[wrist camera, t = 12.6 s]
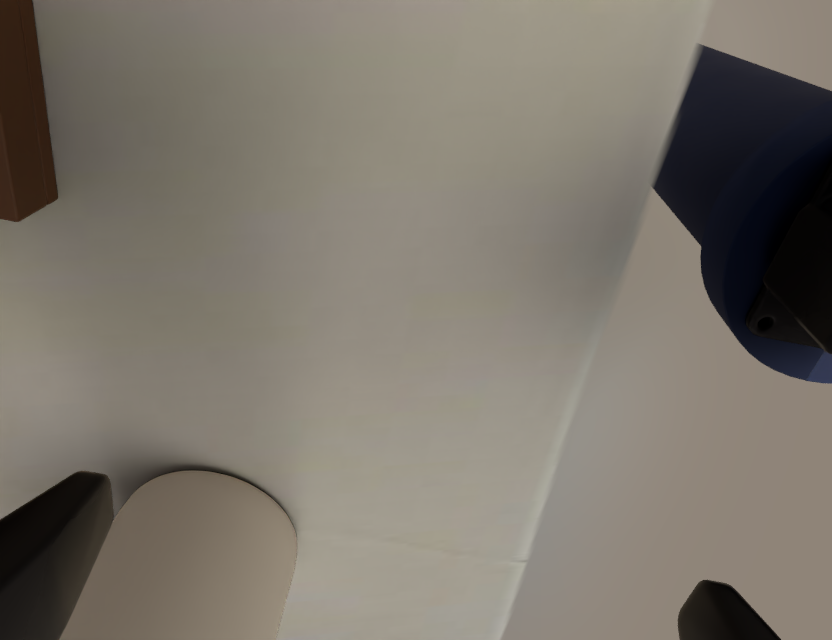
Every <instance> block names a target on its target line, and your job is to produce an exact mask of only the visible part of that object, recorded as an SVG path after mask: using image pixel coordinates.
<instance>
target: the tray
mask: <svg viewBox="0 0 832 640" xmlns="http://www.w3.org/2000/svg"><path fill="white" fill-rule="evenodd" d="M57 199H58V194H57V186H56V179H55V171H54V164H53V156H52V148H51V141H50V133H49V126H48V118H47V110H46V103H45V95H44V88H43V80H42V72H41V65H40V57H39V50H38V42H37V34H36V27H35V19H34V12H33V4H32V0H0V219H4V220H9V221H14V222H19V221H21V220H23V219H25V218H26V217H28V216H30V215H31V214H33V213H35V212H36V211H38V210H40V209H41V208H43V207H45V206H46V204H47V205H48V204H50V203H52V202H54V201H55V200H57Z"/></svg>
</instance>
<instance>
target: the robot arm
mask: <svg viewBox="0 0 832 640" xmlns="http://www.w3.org/2000/svg"><path fill="white" fill-rule="evenodd" d="M763 282H764V283H763V285H762V286H761V288H760V290H759V292H758V294H757V296H756V297H755V299H754V301H753V303H752V305H751V307H750V309H749V310H748V312H747V314H746V317H745V324H746V326H747V327H748V328H749V329H750V331H751V332H752V333H753V334H754V335H757V336H761V337H766V338H771V339H776V340H781V341H786V342H792V343H797V344H802V345H807V346H812V347H818V348H822V349H823V350H824V351H825V352H827V353H829V354H832V158H831V159H830V161H829V163H828V165H827V167H826V169H825V171H824V172H823V174H822V176H821V178H820V180H819V182H818V183H817V185H816V187H815V189H814V191H813V193H812V194H811V196H810V198H809V200H808V202H807V204H806V205H805V207H804V208H802V209H801V210H800V211H799V212H798V214H797V216H796V218H795V220H794V222H793V223H792V225H791V227H790V229H789V231H788V233H787V235H786V236H785V238H784V240H783V242H782V244H781V246H780V248H779V249H778V251H777V253H776V255H775V257H774V259H773V260H772V262H771V264H770V266H769V268H768V270H767V272H766V273H765V275H764V277H763ZM764 317H768V319H767V320H766V321H765V322H764V323H762V324H758V322H759V321H760V319H762V318H764ZM113 516H114V509H113V500H112V492H111V483H110V479H109V477H108V476H107V475H105V474H100V473H95V472H89V471H79V472H76V473H74V474H72V475H70V476H69V477H67V478H66V479H64V480H62V481H61V482H59V483H58V484H56V485H55V486H53V487H51V488H50V489H48V490H47V491H45V492H43V493H42V494H40V495H39V496H37V497H35V498H34V499H32V500H31V501H29V502H27V503H26V504H24V505H23V506H21V507H20V508H18V509H16V510H15V511H13V512H12V513H10V514H8V515H7V516H5V517H4V518H2V519H0V640H59V639H60V637H61V635H62V633H63V631H64V630H65V628H66V625H67V623H68V621H69V619H70V617H71V615H72V613H73V611H74V608H75V606H76V604H77V602H78V599H79V597H80V595H81V593H82V590H83V588H84V586H85V584H86V581H87V579H88V577H89V575H90V573H91V570H92V568H93V566H94V564H95V561H96V559H97V557H98V555H99V552H100V550H101V548H102V546H103V543H104V541H105V539H106V537H107V535H108V532H109V530H110V528H111V525H112V521H113ZM678 631H679V638H680V640H781V639H780V638H779V637H778V636H777V634H776V633H775V632H774V631H773V630H772V629H771V628H770V627H769V626H768V625H767V624H766V622H765V621H764V620H763V619H762V618H761V617H760V616H759V615H758V614H757V613H756V611H755V610H754V609H753V608H752V607H751V606H750V605H749V604H748V603H747V602H746V601H745V599H744V598H743V597H742V596H741V595H740V594H739V593H738V592H737V591H736V590H735V589H734V588H733V587H732V586H731V585H729V584H726V583H721V582H716V581H710V580H703V581H701V582H699V583H698V584H697V586H696V587H695V589H694V590H693V592H692V593H691V594H690V596H689V598H688V599H687V601H686V602H685V603H684V605H683V607H682V608H681V610H680V612H679V616H678Z"/></svg>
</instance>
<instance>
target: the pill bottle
mask: <svg viewBox="0 0 832 640" xmlns="http://www.w3.org/2000/svg"><path fill="white" fill-rule="evenodd" d="M296 557H297V538H296V534H295V530H294V528H293V525H292V523H291V521H290V519H289V517H288V516H287V514H286V513H285V512H284V510H283V509H282V508H281V507H280V506H279V505H278V504H277V503H276V502H275V501H274V500H273V499H272V498H271V497H269V496H268V495H267V494H265V493H264V492H262V491H261V490H259V489H258V488H256V487H254V486H252V485H250V484H248V483H246V482H244V481H242V480H239V479H237V478H234V477H231V476H227V475H224V474H219V473H214V472H208V471H178V472H173V473H168V474H165V475H162V476H159V477H157V478H154V479H152V480H150V481H149V482H147V483H145V484H144V485H142V486H141V487H140V488H139V489H137V490H136V491H135V492H134V493H133V494H132V495H131V497H130V498H129V499H128V500H127V502H126V503H125V504H124V505H123V507H122V508H121V509H120V511H119V513H118V514H117V516H116V517H115V519H114V521H113V522H112V525H111V528H110V530H109V532H108V535H107V537H106V539H105V541H104V543H103V546H102V548H101V550H100V552H99V555H98V557H97V559H96V561H95V564H94V566H93V568H92V570H91V573H90V575H89V577H88V579H87V581H86V584H85V586H84V588H83V590H82V593H81V595H80V597H79V599H78V602H77V604H76V606H75V608H74V611H73V613H72V615H71V617H70V619H69V621H68V623H67V625H66V628H65V630H64V631H63V633H62V635H61V637H60V639H59V640H276V636H277V633H278V629H279V625H280V622H281V618H282V614H283V610H284V607H285V603H286V599H287V596H288V592H289V588H290V585H291V581H292V577H293V573H294V570H295V564H296Z"/></svg>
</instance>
